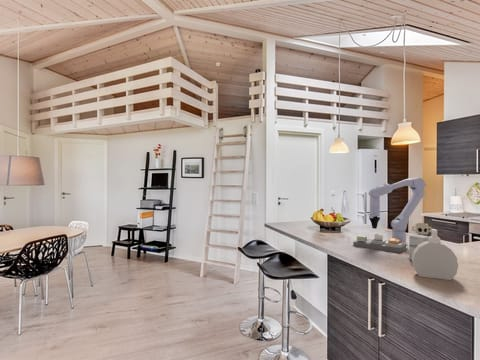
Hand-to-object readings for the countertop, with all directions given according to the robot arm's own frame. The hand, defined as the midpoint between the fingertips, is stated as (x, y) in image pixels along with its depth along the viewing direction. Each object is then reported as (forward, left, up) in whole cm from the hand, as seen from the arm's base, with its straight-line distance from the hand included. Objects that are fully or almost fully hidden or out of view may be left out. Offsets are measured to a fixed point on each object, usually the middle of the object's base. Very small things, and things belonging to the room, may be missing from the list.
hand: (374, 228), depth 190 cm
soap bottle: (+49, +40, -10) cm, 64 cm away
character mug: (-22, +22, -10) cm, 33 cm away
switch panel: (+7, +5, -10) cm, 13 cm away
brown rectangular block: (+7, +14, -7) cm, 17 cm away
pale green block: (+11, -4, -7) cm, 14 cm away
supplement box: (+24, +30, -10) cm, 40 cm away
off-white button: (+8, +5, -5) cm, 11 cm away
